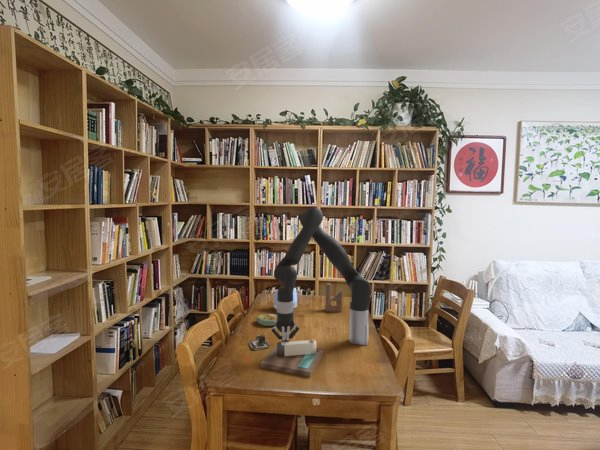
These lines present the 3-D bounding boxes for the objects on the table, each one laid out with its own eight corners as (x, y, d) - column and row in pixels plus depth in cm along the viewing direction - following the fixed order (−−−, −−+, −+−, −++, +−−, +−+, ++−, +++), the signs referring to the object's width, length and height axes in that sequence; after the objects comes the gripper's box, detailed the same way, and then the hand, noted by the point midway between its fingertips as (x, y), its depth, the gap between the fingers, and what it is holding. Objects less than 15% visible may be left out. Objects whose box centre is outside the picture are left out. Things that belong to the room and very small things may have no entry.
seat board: (323, 354, 143) (323, 350, 143) (310, 377, 124) (310, 371, 124) (278, 347, 150) (278, 343, 150) (260, 367, 131) (260, 362, 131)
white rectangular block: (315, 350, 143) (315, 337, 142) (317, 354, 139) (317, 340, 138) (276, 352, 140) (276, 339, 139) (277, 357, 136) (277, 343, 135)
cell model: (259, 315, 187) (282, 307, 184) (263, 328, 185) (286, 320, 182) (251, 318, 177) (275, 310, 173) (255, 331, 175) (279, 324, 172)
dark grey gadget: (258, 334, 162) (273, 331, 156) (260, 347, 160) (276, 344, 154) (241, 339, 152) (256, 335, 146) (243, 353, 150) (259, 350, 145)
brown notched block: (341, 312, 201) (342, 285, 200) (325, 311, 202) (325, 284, 201) (341, 310, 204) (342, 283, 203) (325, 310, 206) (325, 283, 205)
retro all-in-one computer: (264, 307, 210) (265, 287, 210) (290, 304, 218) (290, 284, 218) (275, 317, 192) (275, 295, 191) (303, 313, 200) (303, 292, 199)
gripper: (298, 306, 145) (298, 342, 146) (269, 308, 142) (269, 345, 144) (301, 312, 138) (301, 350, 139) (271, 313, 135) (271, 352, 136)
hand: (285, 347), depth 141 cm, fingers closed
